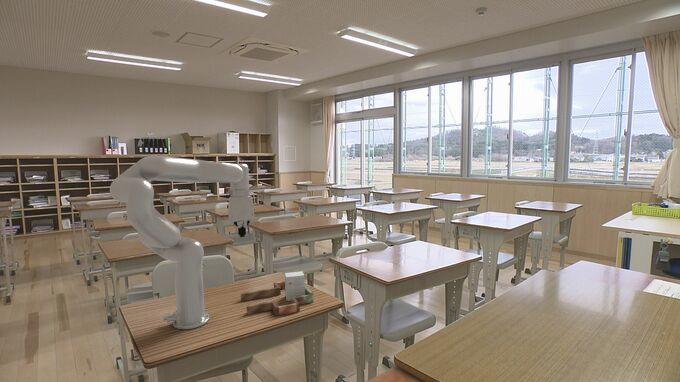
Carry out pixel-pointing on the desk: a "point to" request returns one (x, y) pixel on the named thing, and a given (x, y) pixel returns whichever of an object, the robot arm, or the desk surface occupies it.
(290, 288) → the small box
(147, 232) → the robot arm
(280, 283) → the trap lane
